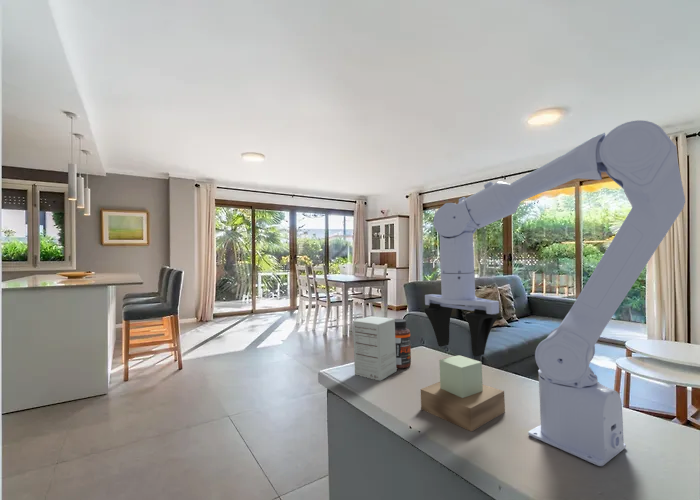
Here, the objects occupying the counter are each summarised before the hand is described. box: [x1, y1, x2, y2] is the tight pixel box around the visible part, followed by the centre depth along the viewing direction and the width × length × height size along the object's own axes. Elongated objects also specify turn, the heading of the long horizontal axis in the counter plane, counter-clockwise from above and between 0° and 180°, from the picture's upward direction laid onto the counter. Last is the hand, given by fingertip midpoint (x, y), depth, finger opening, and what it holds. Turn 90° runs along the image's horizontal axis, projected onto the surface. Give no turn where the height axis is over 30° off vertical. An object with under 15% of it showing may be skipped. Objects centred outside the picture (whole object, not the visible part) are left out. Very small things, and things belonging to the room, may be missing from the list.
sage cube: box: [438, 355, 484, 398], centre depth 59 cm, size 5×5×5 cm
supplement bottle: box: [394, 318, 412, 369], centre depth 84 cm, size 6×6×11 cm
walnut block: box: [420, 381, 506, 432], centre depth 59 cm, size 10×10×4 cm
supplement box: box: [352, 315, 397, 382], centre depth 79 cm, size 7×7×13 cm
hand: (460, 349), depth 59 cm, fingers open, 7 cm apart
